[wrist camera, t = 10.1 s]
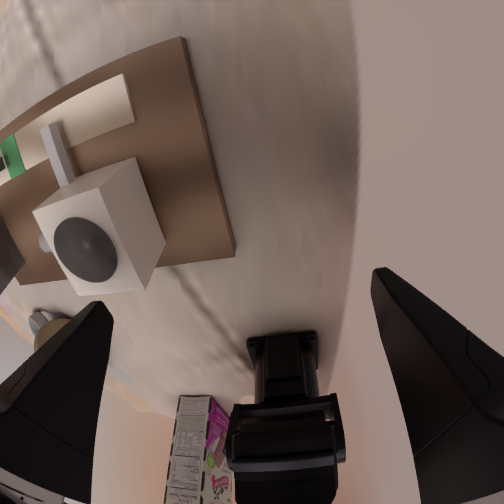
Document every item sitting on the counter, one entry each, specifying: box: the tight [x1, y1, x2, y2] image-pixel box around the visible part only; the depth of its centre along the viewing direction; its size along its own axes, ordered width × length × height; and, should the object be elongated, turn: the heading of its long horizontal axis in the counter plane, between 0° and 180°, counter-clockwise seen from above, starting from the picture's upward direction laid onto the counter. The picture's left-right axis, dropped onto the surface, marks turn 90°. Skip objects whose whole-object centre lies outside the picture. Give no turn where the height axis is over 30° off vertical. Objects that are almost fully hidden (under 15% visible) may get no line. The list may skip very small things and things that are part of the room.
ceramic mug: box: [29, 312, 70, 352], centre depth 24 cm, size 11×8×8 cm
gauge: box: [32, 122, 166, 296], centre depth 14 cm, size 10×8×5 cm
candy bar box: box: [164, 395, 232, 504], centre depth 29 cm, size 11×5×16 cm, turn 13°
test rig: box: [0, 37, 236, 295], centre depth 14 cm, size 14×23×7 cm, turn 100°
